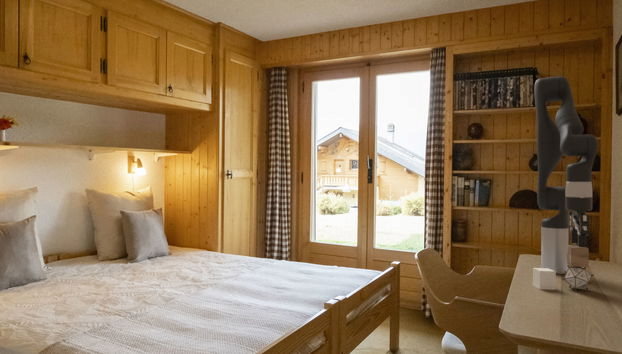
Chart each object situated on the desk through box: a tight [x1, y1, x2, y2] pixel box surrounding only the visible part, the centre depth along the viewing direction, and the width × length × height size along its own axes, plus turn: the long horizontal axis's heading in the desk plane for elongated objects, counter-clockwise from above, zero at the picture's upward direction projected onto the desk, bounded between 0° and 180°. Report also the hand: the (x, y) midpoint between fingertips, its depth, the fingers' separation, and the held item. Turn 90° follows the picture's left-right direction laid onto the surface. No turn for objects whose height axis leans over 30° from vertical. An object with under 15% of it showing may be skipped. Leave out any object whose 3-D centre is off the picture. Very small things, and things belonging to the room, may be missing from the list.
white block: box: [532, 267, 557, 291], centre depth 144 cm, size 5×5×6 cm
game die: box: [561, 264, 595, 292], centre depth 142 cm, size 9×8×10 cm
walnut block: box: [567, 244, 590, 268], centre depth 142 cm, size 5×5×6 cm
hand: (578, 245), depth 142 cm, fingers open, 8 cm apart
